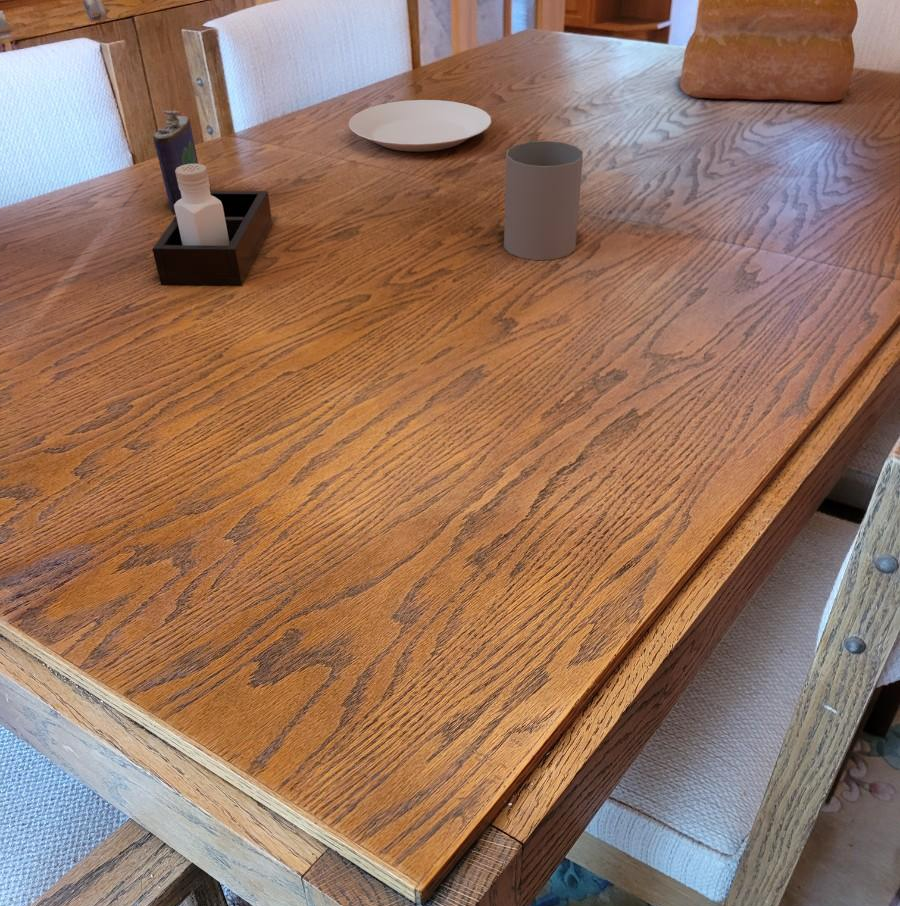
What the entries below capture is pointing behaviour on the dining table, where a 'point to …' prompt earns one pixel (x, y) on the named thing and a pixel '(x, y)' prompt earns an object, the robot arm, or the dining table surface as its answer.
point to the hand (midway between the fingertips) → (51, 27)
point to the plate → (420, 124)
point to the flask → (174, 152)
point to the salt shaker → (199, 209)
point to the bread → (771, 50)
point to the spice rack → (217, 263)
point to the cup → (542, 199)
